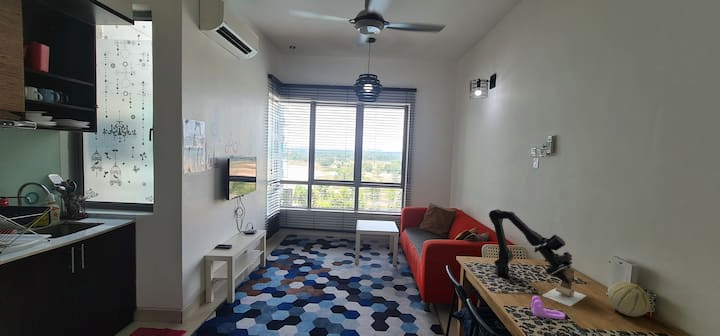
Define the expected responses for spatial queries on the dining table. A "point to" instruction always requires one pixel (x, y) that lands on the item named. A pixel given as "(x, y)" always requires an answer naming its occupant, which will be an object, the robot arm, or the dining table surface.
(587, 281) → the dining table surface
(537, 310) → the bracket
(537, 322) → the dining table surface
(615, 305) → the cantaloupe
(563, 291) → the brown piece
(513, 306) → the dining table surface
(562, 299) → the board
